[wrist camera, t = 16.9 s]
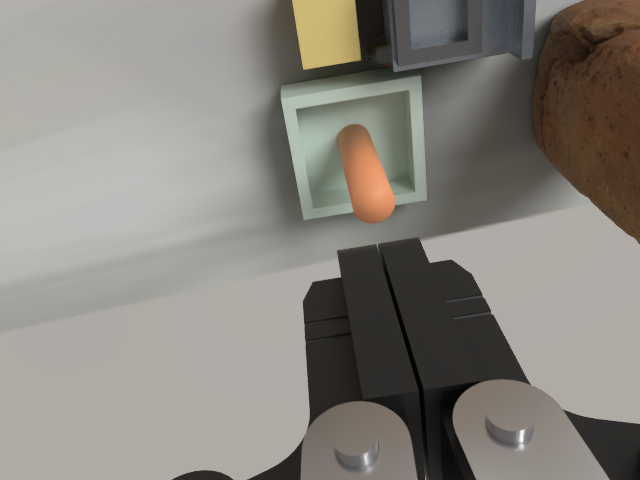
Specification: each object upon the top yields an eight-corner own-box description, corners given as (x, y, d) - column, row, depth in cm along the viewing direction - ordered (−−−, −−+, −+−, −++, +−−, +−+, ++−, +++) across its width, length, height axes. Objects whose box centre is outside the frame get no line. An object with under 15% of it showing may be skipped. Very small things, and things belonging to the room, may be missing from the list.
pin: (368, 121, 38) (393, 181, 30) (371, 152, 39) (396, 219, 31) (335, 127, 38) (350, 188, 30) (339, 158, 39) (355, 226, 31)
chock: (345, -36, 34) (351, -30, 31) (354, 47, 36) (361, 60, 33) (287, -26, 34) (289, -19, 31) (301, 56, 36) (303, 69, 33)
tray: (411, 63, 37) (421, 75, 34) (417, 182, 42) (427, 200, 39) (280, 85, 37) (280, 98, 35) (302, 201, 42) (303, 220, 39)
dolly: (505, -70, 33) (564, -63, 26) (502, 33, 36) (554, 62, 29) (352, -43, 33) (372, -31, 26) (363, 56, 36) (382, 91, 30)
